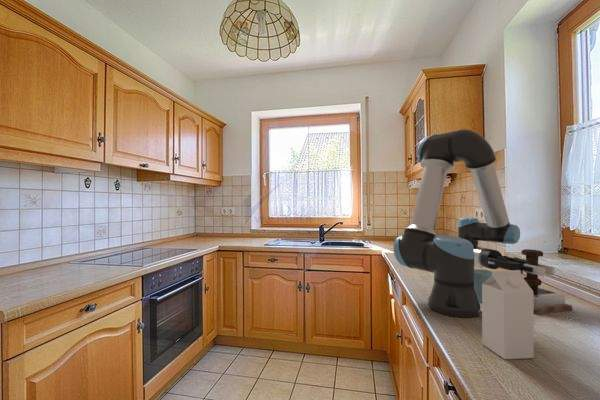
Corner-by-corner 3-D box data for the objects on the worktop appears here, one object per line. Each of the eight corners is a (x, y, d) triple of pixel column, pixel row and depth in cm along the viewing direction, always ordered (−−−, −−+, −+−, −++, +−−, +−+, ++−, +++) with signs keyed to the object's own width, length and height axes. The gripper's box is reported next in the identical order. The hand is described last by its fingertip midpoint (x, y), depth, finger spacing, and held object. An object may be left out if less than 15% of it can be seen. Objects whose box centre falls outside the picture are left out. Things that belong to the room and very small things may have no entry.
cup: (489, 297, 107) (489, 269, 107) (501, 305, 100) (501, 274, 100) (467, 297, 108) (467, 268, 108) (477, 304, 101) (477, 274, 101)
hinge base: (535, 314, 92) (535, 298, 92) (496, 299, 105) (496, 285, 105) (572, 310, 95) (572, 294, 95) (529, 296, 109) (529, 283, 109)
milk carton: (481, 344, 72) (481, 267, 73) (508, 343, 73) (508, 267, 73) (504, 360, 65) (504, 274, 65) (534, 358, 66) (533, 274, 66)
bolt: (545, 297, 97) (545, 252, 97) (528, 296, 98) (528, 251, 98) (535, 292, 103) (535, 249, 103) (519, 291, 104) (519, 248, 104)
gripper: (503, 266, 120) (568, 281, 97) (470, 268, 116) (529, 285, 93) (503, 247, 120) (568, 259, 97) (470, 249, 116) (529, 261, 93)
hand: (548, 271), depth 95 cm, fingers closed on bolt, 3 cm apart
